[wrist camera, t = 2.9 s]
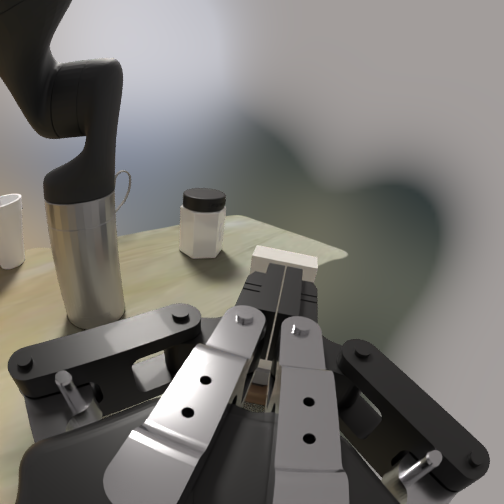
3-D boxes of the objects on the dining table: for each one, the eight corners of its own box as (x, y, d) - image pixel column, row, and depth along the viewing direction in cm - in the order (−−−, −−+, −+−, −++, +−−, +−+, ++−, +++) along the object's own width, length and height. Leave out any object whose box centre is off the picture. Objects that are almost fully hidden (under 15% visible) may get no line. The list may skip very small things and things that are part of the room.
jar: (212, 263, 53) (217, 202, 48) (173, 254, 54) (175, 195, 49) (226, 245, 61) (231, 191, 56) (191, 238, 62) (194, 185, 57)
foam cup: (10, 277, 37) (-4, 210, 32) (-12, 268, 37) (-26, 208, 32) (39, 254, 46) (29, 194, 40) (14, 248, 46) (5, 193, 40)
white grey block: (281, 388, 26) (317, 271, 20) (234, 378, 27) (250, 258, 21) (285, 367, 29) (317, 254, 23) (240, 358, 30) (258, 242, 24)
